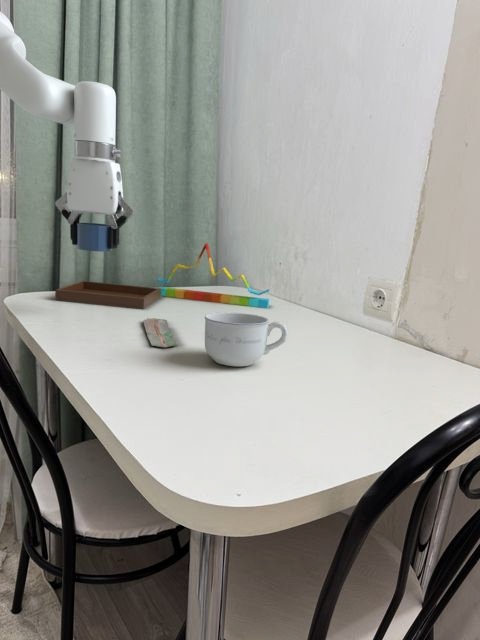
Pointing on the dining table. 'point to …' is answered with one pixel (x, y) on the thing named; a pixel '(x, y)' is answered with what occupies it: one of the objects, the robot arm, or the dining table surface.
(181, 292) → the chart
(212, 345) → the teacup
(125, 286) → the tray
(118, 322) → the dining table surface
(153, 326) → the map
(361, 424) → the dining table surface
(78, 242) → the blue short cylinder
